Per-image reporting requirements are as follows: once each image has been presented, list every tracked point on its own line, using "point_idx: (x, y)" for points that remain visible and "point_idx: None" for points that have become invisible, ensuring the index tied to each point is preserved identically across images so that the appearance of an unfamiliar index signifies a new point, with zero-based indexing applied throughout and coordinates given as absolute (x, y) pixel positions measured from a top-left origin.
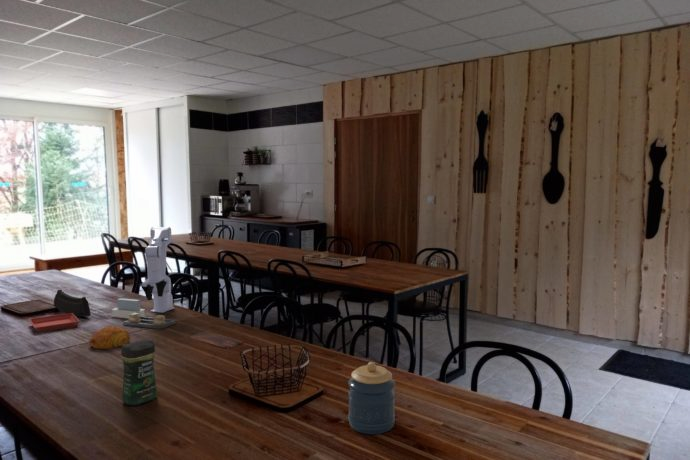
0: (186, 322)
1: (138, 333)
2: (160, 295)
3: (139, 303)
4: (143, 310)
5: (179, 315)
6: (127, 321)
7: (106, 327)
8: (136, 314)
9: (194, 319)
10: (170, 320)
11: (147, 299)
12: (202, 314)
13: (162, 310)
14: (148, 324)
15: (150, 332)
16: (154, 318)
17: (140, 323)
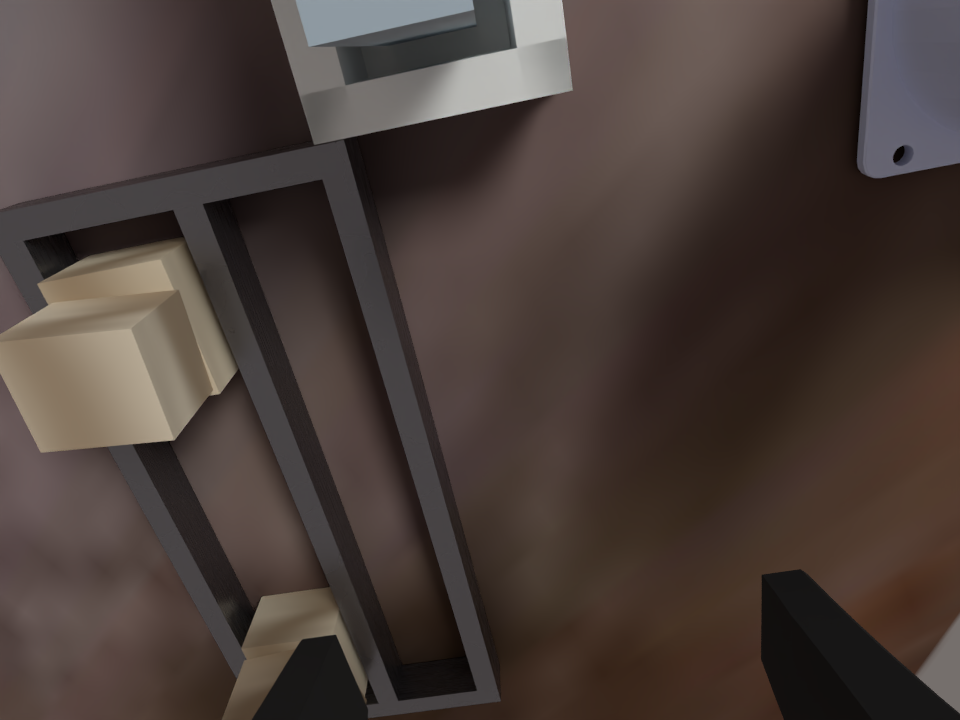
0: (580, 715)
1: (36, 628)
2: (774, 666)
3: (449, 21)
4: (504, 104)
5: (801, 490)
6: (39, 274)
7: None
8: (102, 445)
9: (706, 708)
10: (471, 663)
11: (294, 658)
12: (920, 657)
13: (935, 117)
14: (198, 606)
15: (145, 685)
16: (228, 716)
17: (143, 511)
